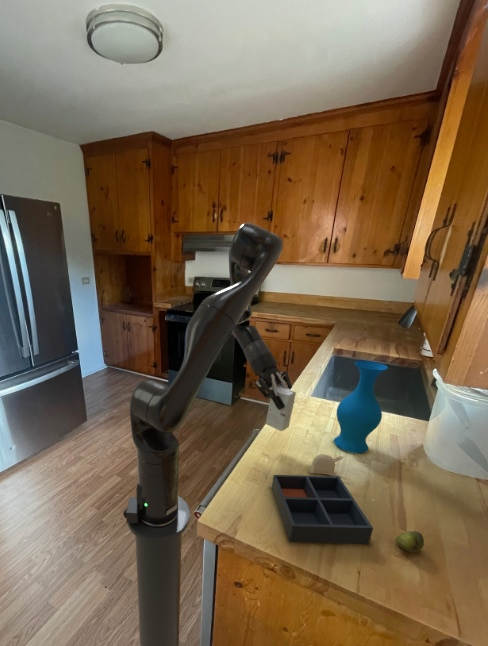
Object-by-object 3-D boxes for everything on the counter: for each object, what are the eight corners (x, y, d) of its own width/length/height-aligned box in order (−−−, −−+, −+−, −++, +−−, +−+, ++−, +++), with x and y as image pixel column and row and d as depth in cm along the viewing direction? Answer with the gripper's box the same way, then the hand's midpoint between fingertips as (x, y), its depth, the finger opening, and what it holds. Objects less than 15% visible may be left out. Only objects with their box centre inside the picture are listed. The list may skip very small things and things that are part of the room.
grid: (289, 542, 71) (292, 526, 69) (271, 488, 87) (273, 474, 85) (368, 544, 71) (373, 528, 69) (335, 490, 87) (339, 476, 85)
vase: (375, 460, 100) (400, 374, 89) (331, 451, 104) (350, 368, 93) (368, 440, 111) (390, 361, 100) (328, 433, 114) (345, 356, 104)
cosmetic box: (265, 424, 103) (270, 389, 98) (272, 420, 106) (278, 385, 101) (282, 432, 99) (288, 395, 94) (290, 427, 102) (296, 391, 97)
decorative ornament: (308, 464, 97) (311, 449, 95) (338, 469, 95) (342, 454, 93) (309, 473, 93) (313, 457, 91) (341, 478, 92) (345, 462, 90)
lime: (391, 547, 70) (397, 529, 68) (400, 536, 73) (407, 519, 71) (414, 562, 67) (421, 543, 65) (423, 550, 70) (430, 532, 68)
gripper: (252, 355, 95) (281, 407, 91) (281, 347, 103) (309, 395, 99) (236, 367, 101) (263, 417, 97) (266, 359, 109) (291, 405, 105)
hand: (286, 406), depth 98 cm, fingers closed on cosmetic box, 4 cm apart
